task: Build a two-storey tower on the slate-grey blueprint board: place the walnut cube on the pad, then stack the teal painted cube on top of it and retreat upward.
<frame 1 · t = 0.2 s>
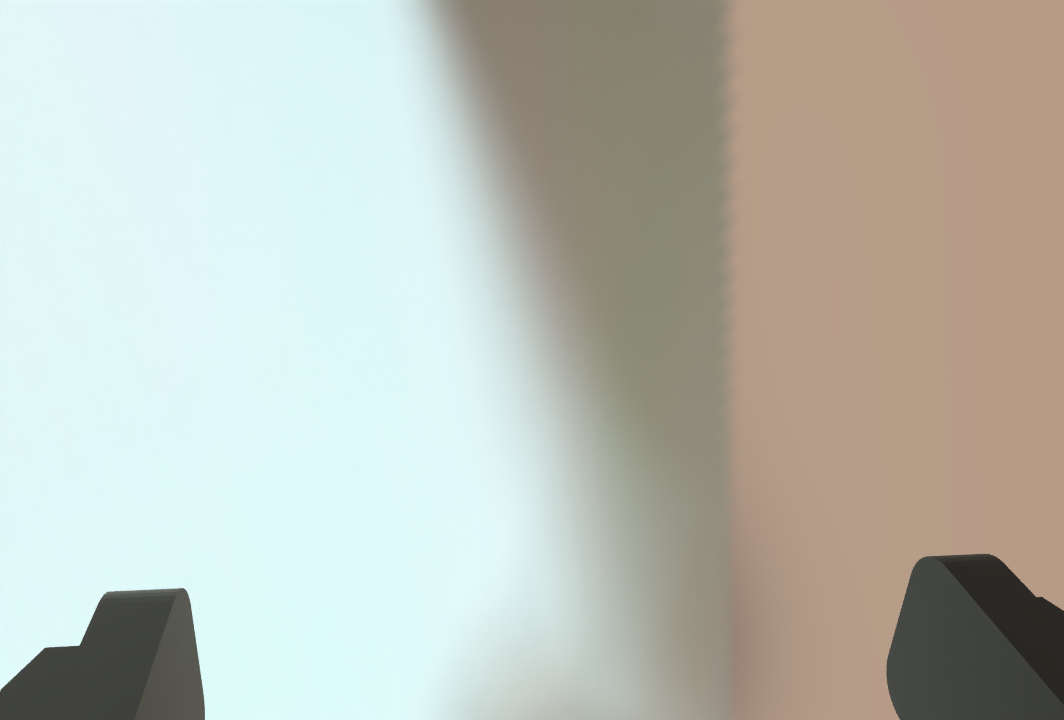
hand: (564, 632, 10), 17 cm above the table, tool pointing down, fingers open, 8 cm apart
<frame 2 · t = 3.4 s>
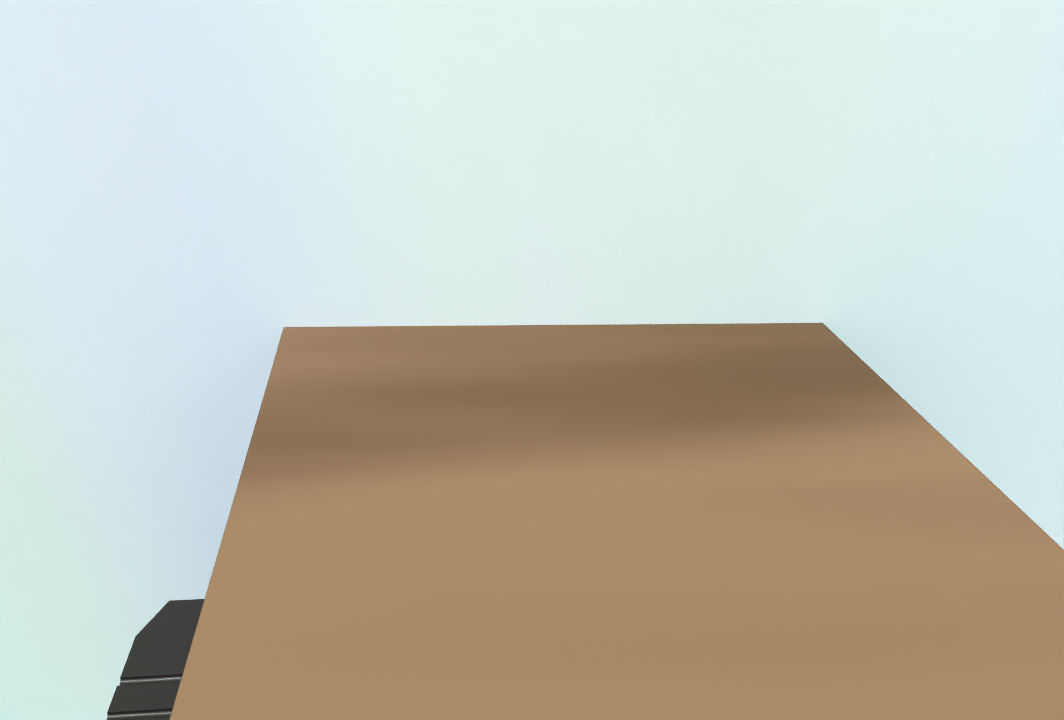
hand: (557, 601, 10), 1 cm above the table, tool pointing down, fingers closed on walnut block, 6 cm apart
walnut block: (549, 547, 11), on the table, touching gripper
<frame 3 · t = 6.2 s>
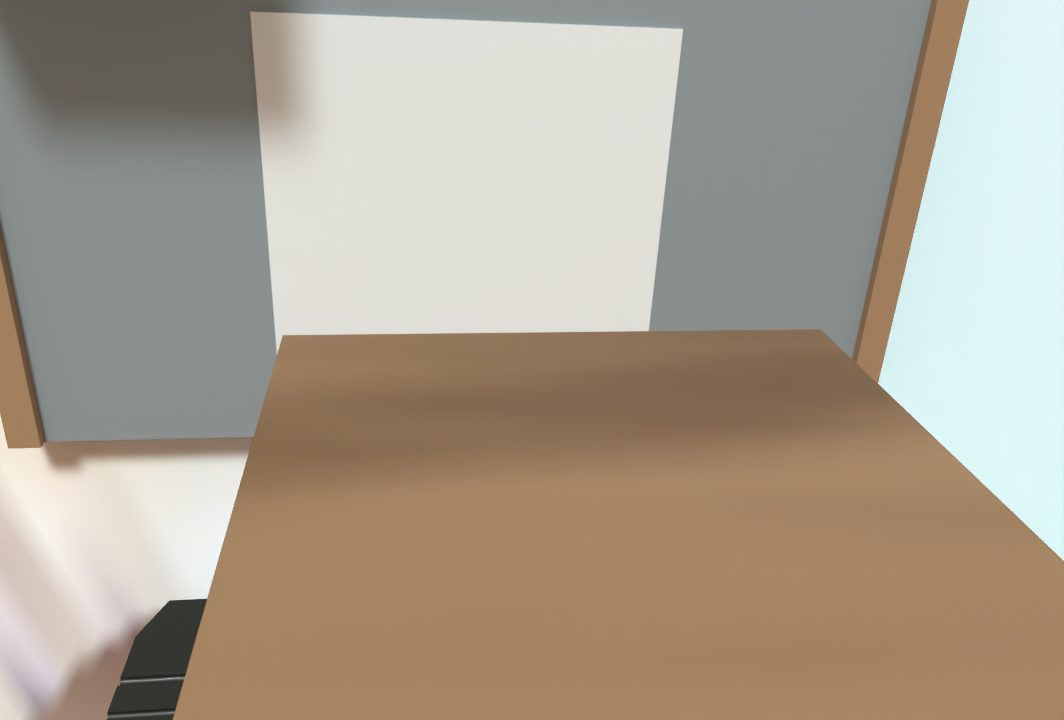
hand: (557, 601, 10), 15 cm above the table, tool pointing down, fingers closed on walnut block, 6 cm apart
blueprint board: (466, 214, 24), on the table
walnut block: (548, 553, 11), point 15 cm above the table, touching gripper
when the fingers open (4 cm above the table, at t = 8.8 s): walnut block drops 1 cm, resting on blueprint board.
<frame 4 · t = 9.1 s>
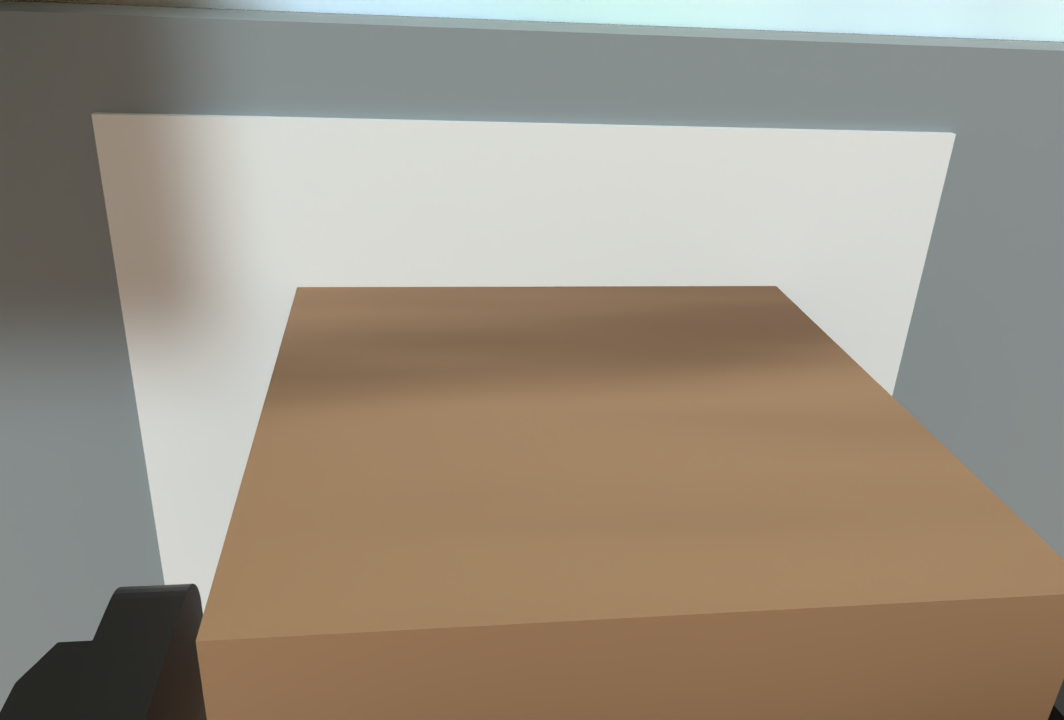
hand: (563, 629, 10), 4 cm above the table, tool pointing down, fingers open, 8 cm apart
blueprint board: (520, 443, 14), on the table
walnut block: (533, 490, 13), point 1 cm above the table, touching blueprint board
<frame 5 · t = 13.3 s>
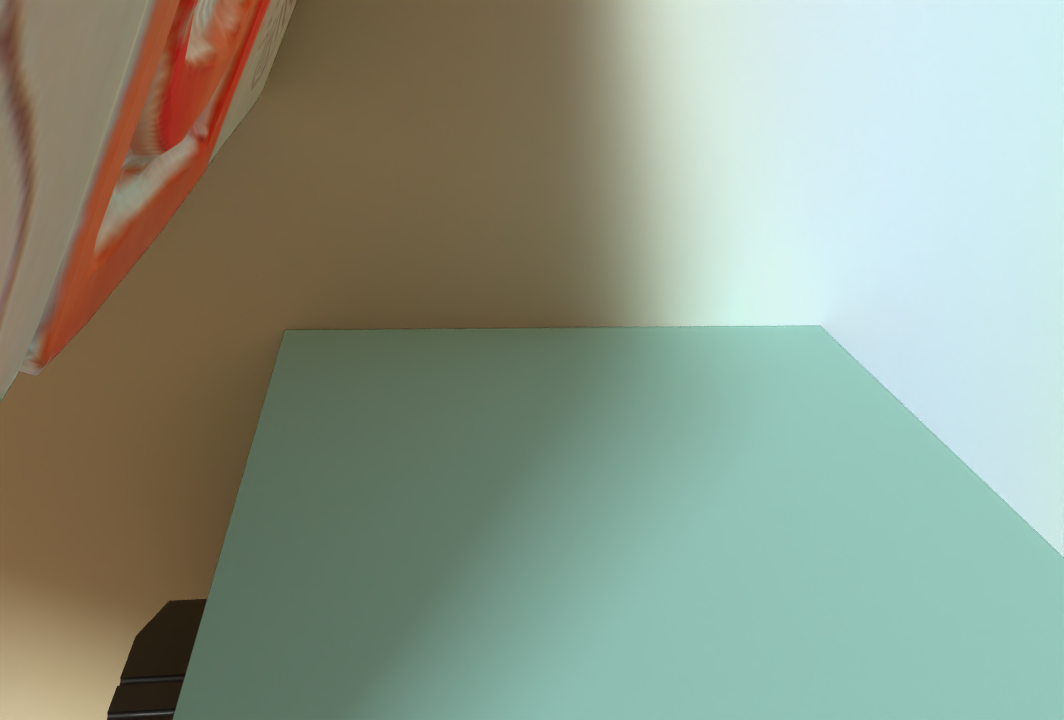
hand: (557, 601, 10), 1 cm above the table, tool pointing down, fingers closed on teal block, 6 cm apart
teal block: (548, 548, 11), on the table, touching gripper
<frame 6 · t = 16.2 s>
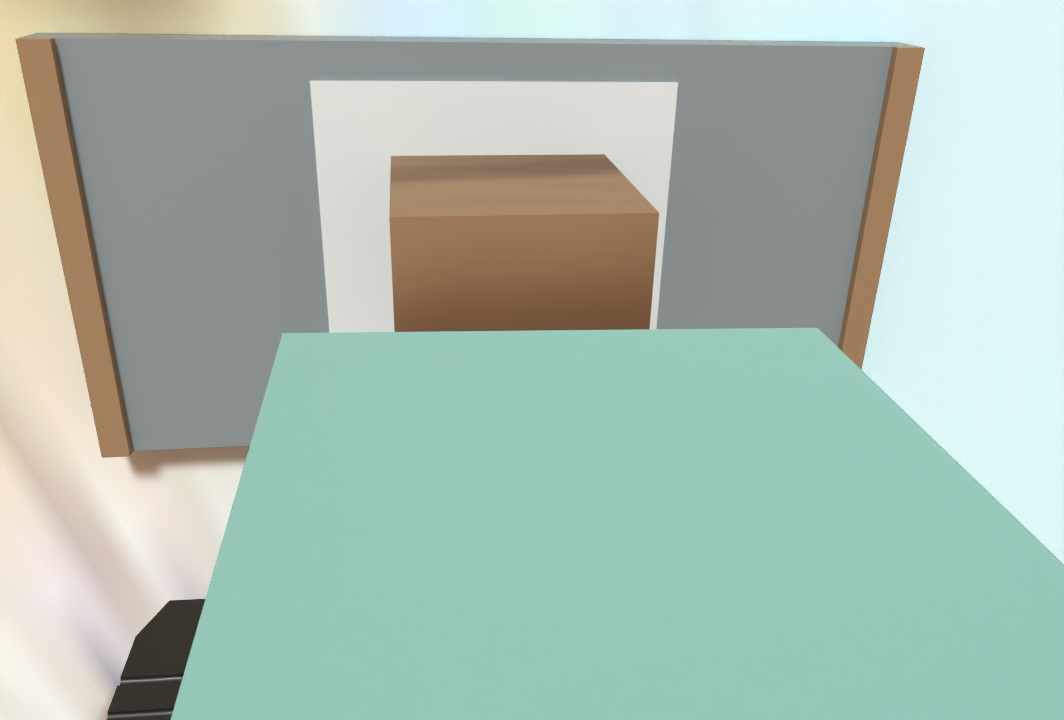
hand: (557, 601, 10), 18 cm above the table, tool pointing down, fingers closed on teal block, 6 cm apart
blueprint board: (493, 244, 28), on the table
walnut block: (498, 257, 27), point 1 cm above the table, touching blueprint board
teal block: (546, 550, 11), point 17 cm above the table, touching gripper
when the fingers open (9 cm above the table, at t = 19.2 s): teal block stays where it is, resting on walnut block.
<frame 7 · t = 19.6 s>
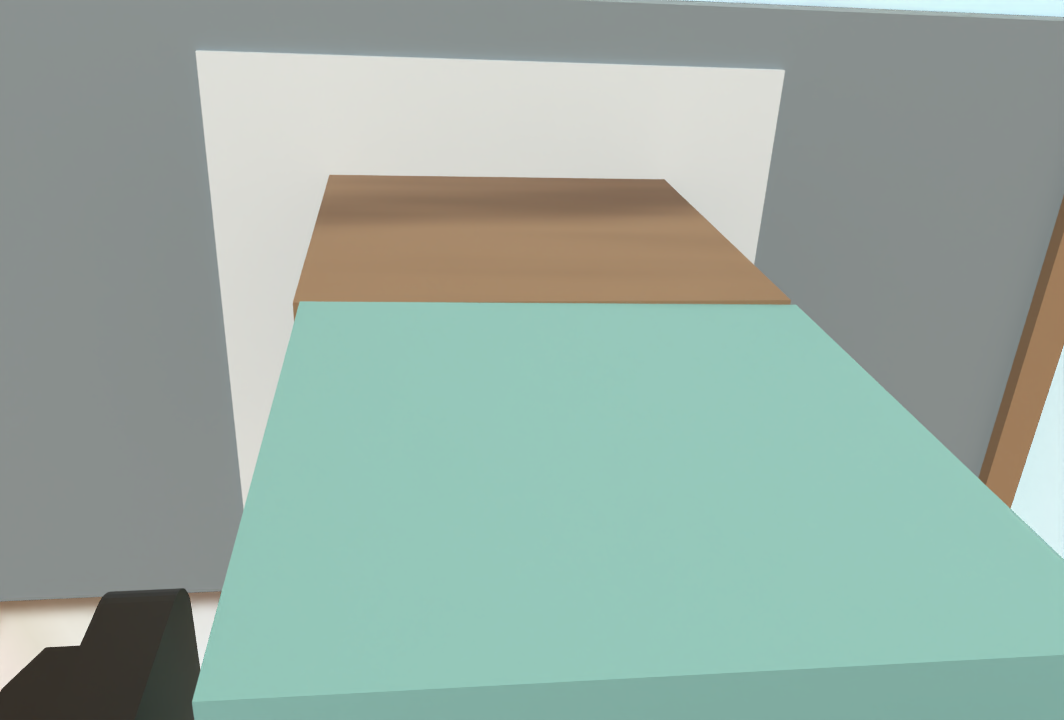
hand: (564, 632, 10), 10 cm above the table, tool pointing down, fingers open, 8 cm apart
blueprint board: (488, 307, 19), on the table
walnut block: (496, 331, 17), point 1 cm above the table, touching blueprint board, teal block
teal block: (541, 512, 12), point 7 cm above the table, touching walnut block
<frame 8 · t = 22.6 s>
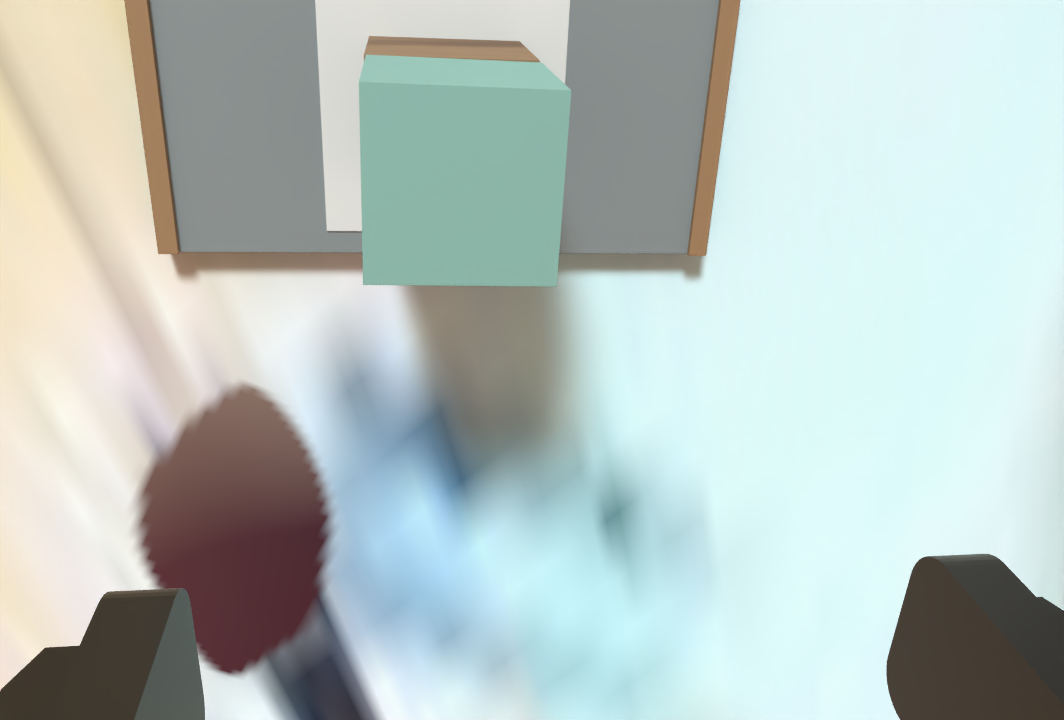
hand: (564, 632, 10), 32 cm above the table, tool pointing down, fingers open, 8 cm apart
blueprint board: (442, 109, 39), on the table
walnut block: (444, 114, 38), point 1 cm above the table, touching blueprint board, teal block
teal block: (453, 146, 32), point 7 cm above the table, touching walnut block
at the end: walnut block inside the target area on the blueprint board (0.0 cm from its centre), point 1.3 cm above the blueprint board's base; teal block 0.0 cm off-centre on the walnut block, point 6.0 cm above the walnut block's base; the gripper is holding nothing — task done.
